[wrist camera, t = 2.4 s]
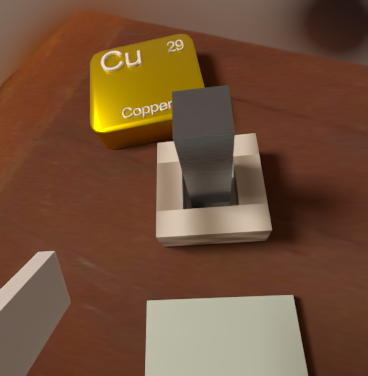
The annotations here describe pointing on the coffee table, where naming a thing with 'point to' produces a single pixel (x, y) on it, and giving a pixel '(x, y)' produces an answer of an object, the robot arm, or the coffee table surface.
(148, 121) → the element tile
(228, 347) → the plate
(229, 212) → the socket block
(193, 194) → the peg
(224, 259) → the coffee table surface
